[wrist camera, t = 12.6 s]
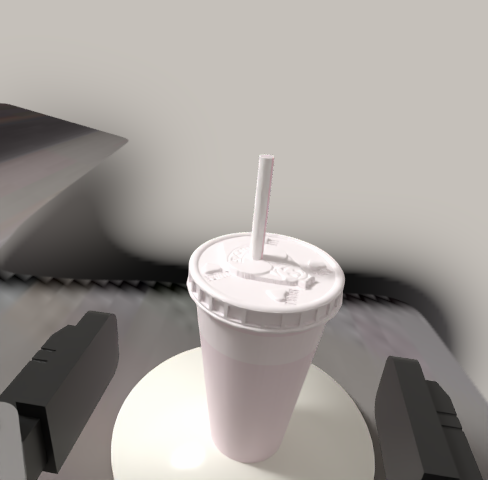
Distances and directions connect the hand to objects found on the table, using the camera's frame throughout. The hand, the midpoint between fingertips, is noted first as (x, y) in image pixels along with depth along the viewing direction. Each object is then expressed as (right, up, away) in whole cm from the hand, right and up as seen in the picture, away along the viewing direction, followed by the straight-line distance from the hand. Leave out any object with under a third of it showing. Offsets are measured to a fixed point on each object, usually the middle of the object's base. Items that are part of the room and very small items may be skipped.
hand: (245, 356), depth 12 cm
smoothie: (0, -6, +9) cm, 11 cm away
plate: (0, -7, +9) cm, 12 cm away
